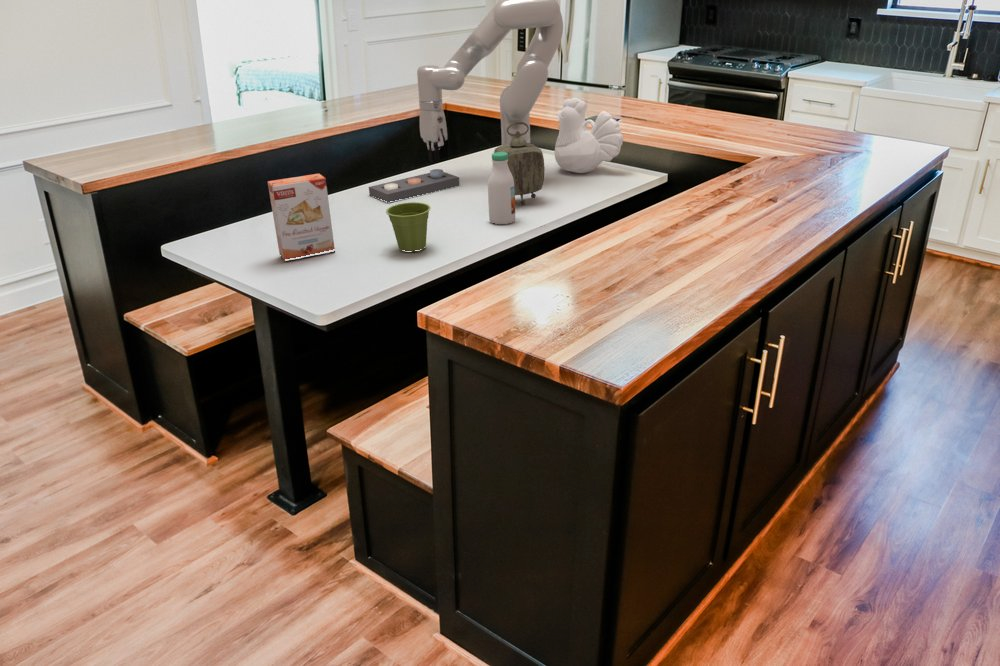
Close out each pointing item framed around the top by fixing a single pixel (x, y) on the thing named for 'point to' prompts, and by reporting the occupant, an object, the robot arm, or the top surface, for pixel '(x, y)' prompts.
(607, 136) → the decorative rooster
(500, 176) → the milk bottle
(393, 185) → the cream button
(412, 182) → the terracotta button
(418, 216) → the plant pot
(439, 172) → the slate blue button
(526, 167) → the tabletop clock
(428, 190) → the button panel
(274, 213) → the cracker box
